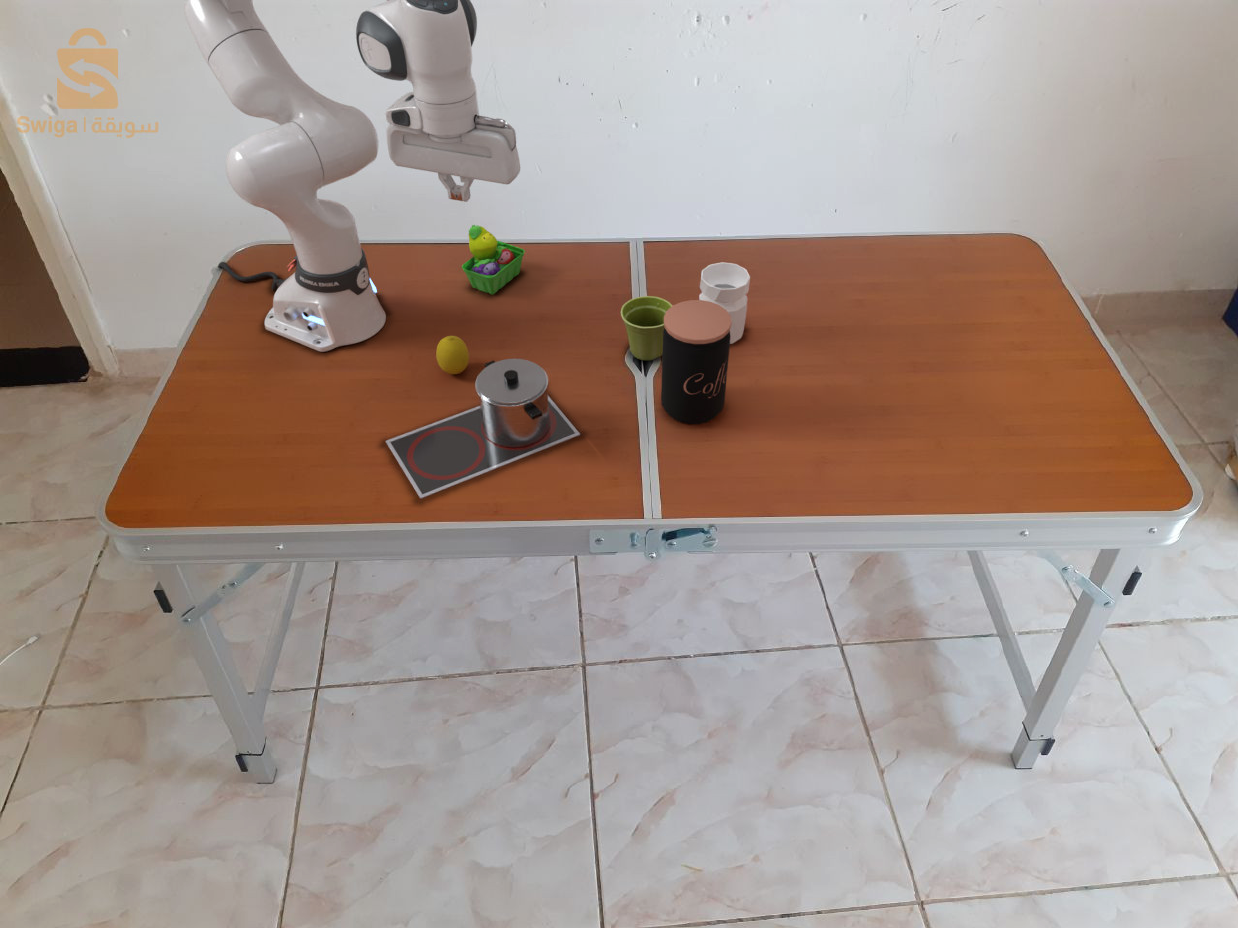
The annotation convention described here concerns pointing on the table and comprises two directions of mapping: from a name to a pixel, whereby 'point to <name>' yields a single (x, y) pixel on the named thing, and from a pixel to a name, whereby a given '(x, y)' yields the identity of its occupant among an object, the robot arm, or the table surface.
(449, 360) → the lemon
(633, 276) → the table surface
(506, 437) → the steel pot
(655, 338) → the plant pot
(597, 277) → the table surface
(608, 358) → the table surface
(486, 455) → the hob
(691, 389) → the coffee jar
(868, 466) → the table surface
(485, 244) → the fruit basket
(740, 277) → the vase
